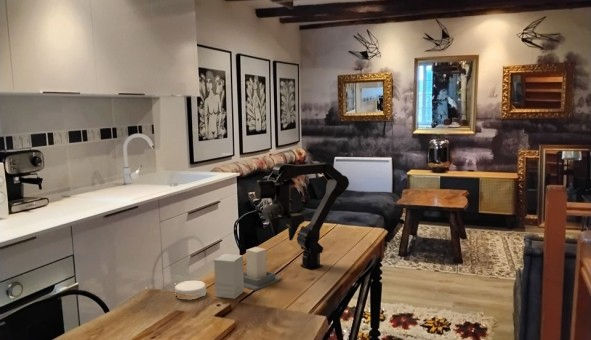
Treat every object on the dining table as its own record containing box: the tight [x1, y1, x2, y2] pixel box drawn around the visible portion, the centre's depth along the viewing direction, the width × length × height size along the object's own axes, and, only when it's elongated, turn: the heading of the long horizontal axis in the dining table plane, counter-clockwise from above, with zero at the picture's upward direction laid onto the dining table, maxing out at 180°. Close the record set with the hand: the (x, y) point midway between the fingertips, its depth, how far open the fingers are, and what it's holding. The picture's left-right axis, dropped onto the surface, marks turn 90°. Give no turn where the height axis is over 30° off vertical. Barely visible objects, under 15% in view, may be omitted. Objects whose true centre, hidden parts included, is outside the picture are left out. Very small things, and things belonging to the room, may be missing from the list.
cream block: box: [245, 246, 267, 279], centre depth 169 cm, size 5×5×11 cm
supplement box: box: [213, 253, 245, 300], centre depth 156 cm, size 7×7×13 cm
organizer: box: [243, 270, 283, 291], centre depth 169 cm, size 14×12×3 cm
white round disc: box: [174, 280, 207, 297], centre depth 156 cm, size 10×10×4 cm
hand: (282, 237), depth 178 cm, fingers open, 9 cm apart
